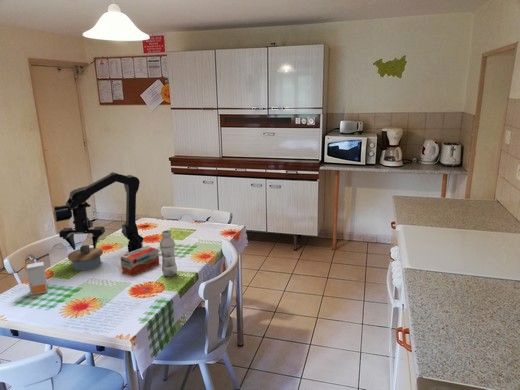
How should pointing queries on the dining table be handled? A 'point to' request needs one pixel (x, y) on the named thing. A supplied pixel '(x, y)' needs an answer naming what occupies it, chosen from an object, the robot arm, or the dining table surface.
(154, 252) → the red printed carton
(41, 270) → the skincare box
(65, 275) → the dining table surface
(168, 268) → the plastic bottle
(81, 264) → the slate bowl
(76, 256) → the walnut lid
